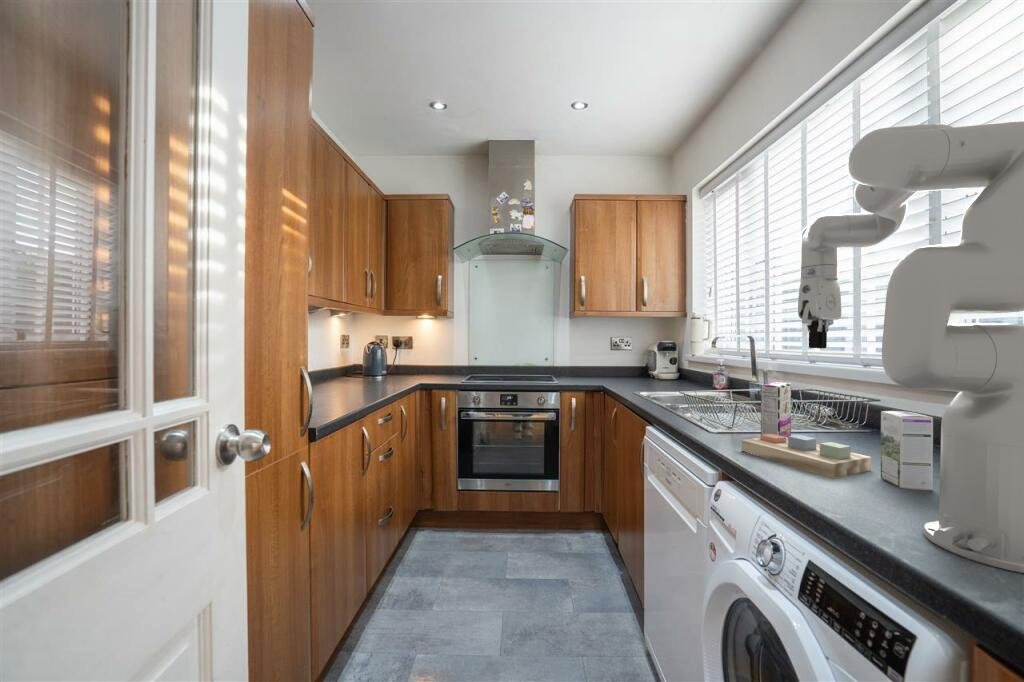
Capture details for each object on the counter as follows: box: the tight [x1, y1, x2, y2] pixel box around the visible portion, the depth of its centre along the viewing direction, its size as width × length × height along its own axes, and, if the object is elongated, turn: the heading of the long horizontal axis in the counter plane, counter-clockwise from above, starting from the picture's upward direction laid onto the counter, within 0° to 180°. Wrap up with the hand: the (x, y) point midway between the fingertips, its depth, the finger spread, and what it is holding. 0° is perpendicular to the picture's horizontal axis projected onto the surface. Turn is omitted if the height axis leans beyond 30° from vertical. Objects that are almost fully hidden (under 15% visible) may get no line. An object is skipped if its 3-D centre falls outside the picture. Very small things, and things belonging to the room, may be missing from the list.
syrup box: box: [880, 410, 934, 491], centre depth 80 cm, size 6×6×14 cm
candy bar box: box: [760, 381, 792, 438], centre depth 115 cm, size 11×5×16 cm, turn 131°
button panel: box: [741, 437, 873, 479], centre depth 96 cm, size 14×21×3 cm, turn 23°
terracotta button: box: [759, 434, 786, 444], centre depth 102 cm, size 4×4×3 cm
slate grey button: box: [788, 434, 817, 451], centre depth 96 cm, size 4×4×3 cm
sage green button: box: [819, 441, 852, 460], centre depth 89 cm, size 4×4×3 cm
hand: (817, 348), depth 99 cm, fingers closed
